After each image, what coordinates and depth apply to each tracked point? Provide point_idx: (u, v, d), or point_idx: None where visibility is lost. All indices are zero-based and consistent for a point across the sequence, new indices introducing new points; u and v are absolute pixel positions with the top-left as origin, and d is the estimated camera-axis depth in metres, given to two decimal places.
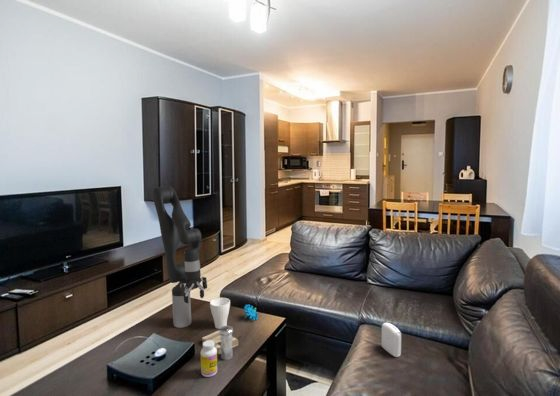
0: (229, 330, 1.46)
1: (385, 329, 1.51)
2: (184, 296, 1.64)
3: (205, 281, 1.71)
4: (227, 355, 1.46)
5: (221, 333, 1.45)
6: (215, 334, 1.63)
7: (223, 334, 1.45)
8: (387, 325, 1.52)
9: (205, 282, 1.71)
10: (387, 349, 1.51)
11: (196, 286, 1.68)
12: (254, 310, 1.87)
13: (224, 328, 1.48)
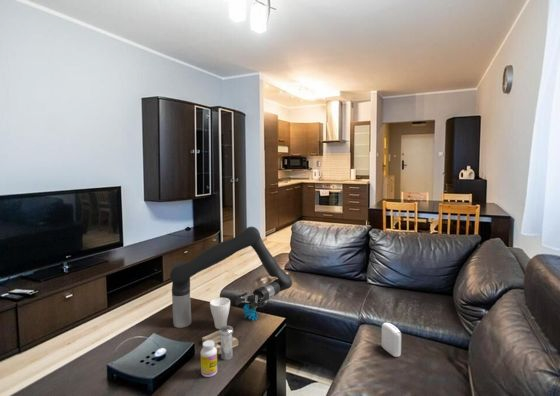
0: (229, 330, 1.46)
1: (385, 329, 1.51)
2: (256, 305, 1.56)
3: None
4: (227, 355, 1.46)
5: (221, 333, 1.45)
6: (215, 334, 1.63)
7: (223, 334, 1.45)
8: (387, 325, 1.52)
9: None
10: (387, 349, 1.51)
11: None
12: (254, 310, 1.87)
13: (224, 328, 1.48)
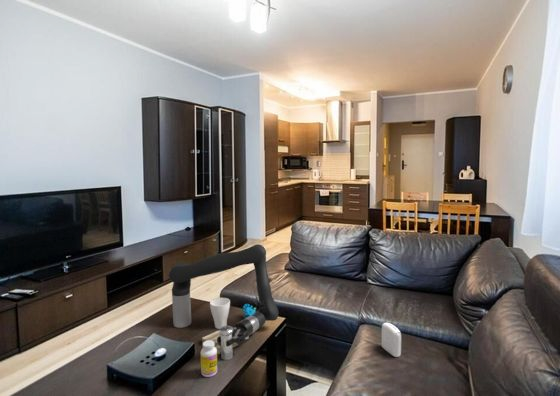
0: (229, 330, 1.46)
1: (385, 329, 1.51)
2: (234, 341, 1.47)
3: None
4: (227, 355, 1.46)
5: (221, 333, 1.45)
6: (215, 334, 1.63)
7: (223, 334, 1.45)
8: (387, 325, 1.52)
9: None
10: (387, 349, 1.51)
11: None
12: (253, 310, 1.87)
13: (224, 328, 1.48)
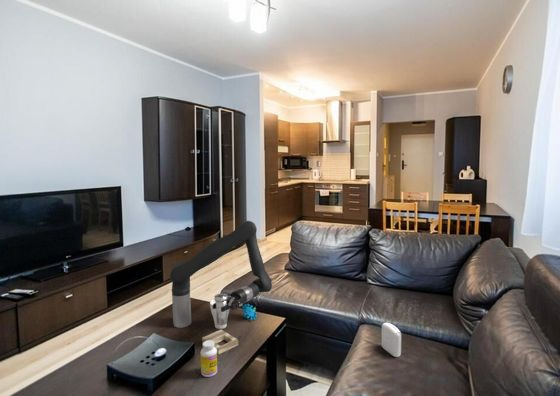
0: (224, 297, 1.54)
1: (385, 329, 1.51)
2: (228, 307, 1.55)
3: None
4: (222, 320, 1.54)
5: (216, 299, 1.53)
6: (215, 334, 1.63)
7: (218, 300, 1.53)
8: (387, 325, 1.52)
9: None
10: (387, 349, 1.51)
11: None
12: (253, 310, 1.87)
13: (219, 295, 1.56)
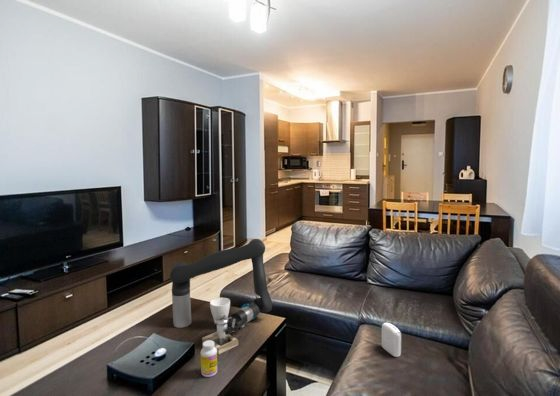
0: (225, 320, 1.56)
1: (385, 329, 1.51)
2: (232, 330, 1.56)
3: None
4: (223, 343, 1.56)
5: (217, 323, 1.55)
6: (215, 334, 1.63)
7: (219, 324, 1.54)
8: (387, 325, 1.52)
9: None
10: (387, 349, 1.51)
11: None
12: None
13: (220, 318, 1.57)
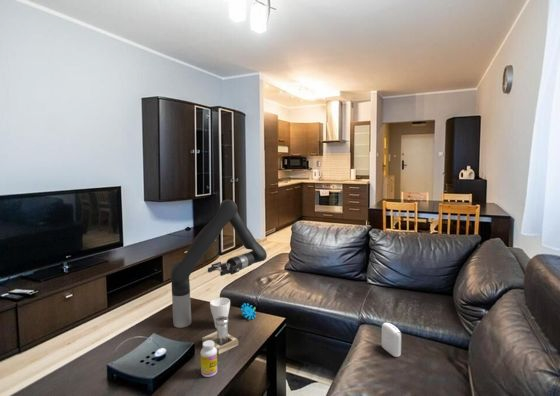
0: (225, 320, 1.56)
1: (385, 329, 1.51)
2: (227, 272, 1.60)
3: (217, 267, 1.70)
4: (223, 343, 1.56)
5: (217, 323, 1.55)
6: (215, 334, 1.63)
7: (219, 324, 1.54)
8: (387, 325, 1.52)
9: (217, 267, 1.70)
10: (387, 349, 1.51)
11: None
12: (252, 309, 1.88)
13: (220, 318, 1.57)
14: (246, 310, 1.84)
